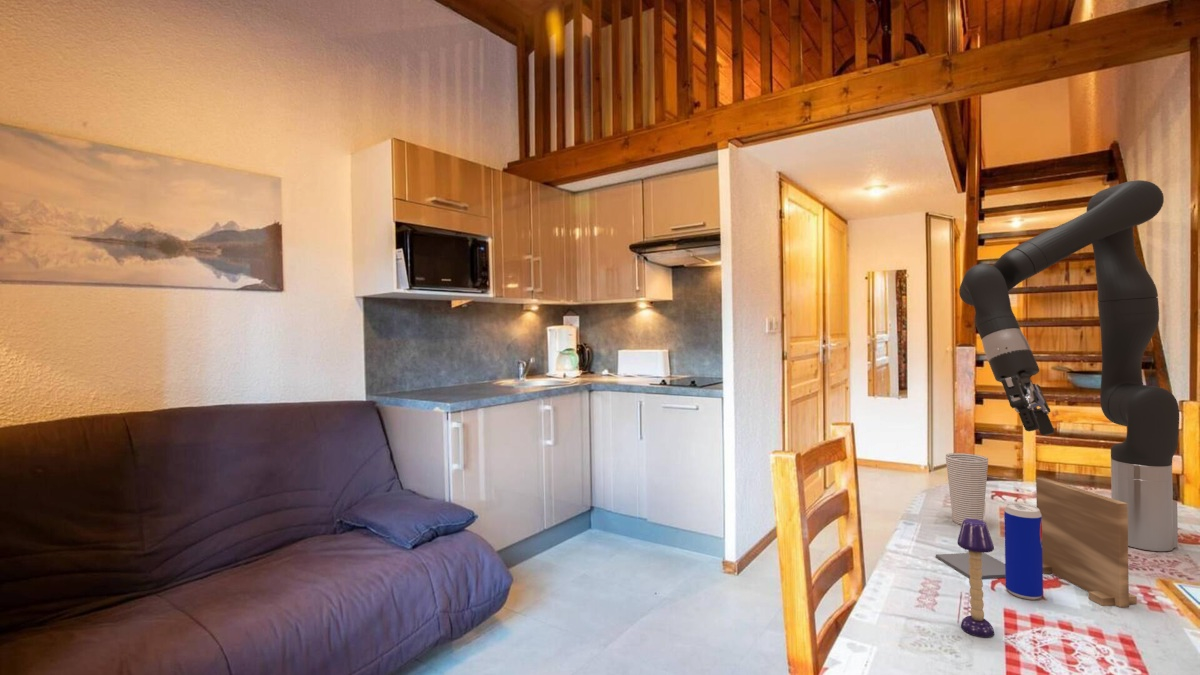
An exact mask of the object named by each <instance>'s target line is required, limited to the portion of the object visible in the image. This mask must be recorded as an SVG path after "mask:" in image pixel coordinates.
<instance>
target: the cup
mask: <svg viewBox="0 0 1200 675" xmlns="http://www.w3.org/2000/svg"><path fill="white" fill-rule="evenodd" d="M945 464H946V470H947V480H948V489H949V497H950V508H951V515H952V516H951V517H952V522H954V523H956V524H958V525H961V526H962V523H963V521H964V520H965V519H977V520H981V521H984V516H985V504H986V495H987V494H986V493H987V492H986V491H987V490H986V489H987V481H988V480H987V478H988V470H989V469H988V468H989V458H988V457H986V456H983V455H980V454H979V455H978V454H972V453H964V452H962V453H961V452H959V453H958V452H954V453H952V452H951V453H947V454H945Z"/></svg>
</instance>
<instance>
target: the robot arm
mask: <svg viewBox="0 0 1200 675" xmlns="http://www.w3.org/2000/svg"><path fill="white" fill-rule="evenodd" d="M1164 198H1165V197H1164V193H1163V191H1162V189H1161V188H1160V187H1159V186H1158V185H1157V184H1155V183H1153V182H1151V181H1148V180H1129V181H1126V182H1122V183H1119V184H1116V185H1113V186H1110V187H1107V188H1104V189H1102V190H1100V191H1098V192H1096V193H1095V194H1093V195H1092V197H1091V198H1090V199H1089V200H1088V203H1087V206H1086V212H1084V213H1083V214H1081V215H1078V216H1076V217H1075V218H1072V219H1070V220H1069V221H1066V222H1064V223H1062V224H1060V225H1058V226H1056V227H1053V228H1050V229H1048V230H1045V231H1044V232H1042V233H1039V234H1038V235H1035V236H1033V237H1031V238H1030V239H1027V240H1026V241H1023V242H1022V243H1020V244H1018V245H1017V246H1014V247H1013V248H1012V249H1009V250H1008V251H1006V252H1005V253H1004V254H1002V255H1001V256H1000V257H999V258H998V259H997V260H996V261H995V263H993V265H991V264H987V263H979V264H975V265H973V266H971V267H970V268H968V270H967V271H966V272H965V274H964V276H963V279H962V280H961V283H960V286H959V288H958V289H959V291H958V293H959V297H960V299H961V300H962V301H963V302H964V303H965V304H967V305H969V306H973V307H974V308H973V309H974V323H975V327H976V330H977V332H978V335H979V337H980V340H981V343H982V348H983V351H984V353H985V356H986V359H987V361H988V364H989V367H990V369H991V371H992V374H993V377H994V379H995V381H996V382H998V383H1001V384H1002V387H1003V390H1004V392H1005V395H1006V397H1007V400H1008V403H1009V406H1010V407H1011V409H1014V410H1015V412H1016V413H1018V415H1019V416H1018V417H1019V418H1020V420H1021V422H1022V425H1023V428H1024V430H1025V431H1026V432H1033V431H1039V433H1040V435H1042V436H1049V435H1053V434H1055V429H1054V426H1053V424H1052V421H1051V419H1050V417H1049V413H1051V409H1050V407H1049V405H1048V403H1047V399H1046V397H1045V396H1044V393H1043V391H1042V389H1041V386H1040V385H1039V384H1038V383H1037V384H1036V383H1033V381H1032V380H1031V378H1032V376H1036V375H1037V374H1039V372H1040V368H1039V365H1038V362H1037V360H1036V358H1035V355H1034V353H1033V351H1032V349H1031V347H1030V344H1029V342H1028V339H1027V338H1026V336H1025V335H1024V333H1023V331H1022V330H1021V327H1020V324H1019V323H1018V320H1017V318H1016V316H1015V314H1014V312H1013V309H1012V304H1011V299H1010V295H1009V292H1010V291H1011V290H1013V288H1015V287H1016V286H1017V285H1018V284H1020V283H1022V282H1023V281H1025V280H1027V279H1029V278H1031V277H1033V276H1035V275H1038V273H1040V272H1042V271H1045V270H1046V269H1049V268H1050V267H1051V266H1053V265H1055V264H1057V263H1058V262H1060V261H1062V260H1064V259H1066V258H1068V257H1069V256H1071V255H1073V254H1075V253H1077V252H1079V251H1080V250H1082V249H1084V248H1086V247H1088V246H1090V245H1091V246H1092V249H1093V254H1094V255H1093V256H1094V266H1095V276H1096V279H1095V280H1096V286H1097V309H1098V319H1099V327H1100V344H1101V345H1100V346H1101V379H1100V393H1099V396H1100V399H1099V400H1100V408H1101V411H1102V413H1103V415H1104V416H1105V418H1106V419H1107V420H1108V421H1110V422H1111V423H1114V424H1116V425H1119V426H1124V427H1126V428H1127V429H1126V438H1125V440H1124V441H1123V442H1120V443H1115V444H1113V445H1111V447H1110V482H1111V484H1110V486H1111V491H1110V492H1111V495H1110V496H1111V497H1110V498H1111V499H1115V500H1118V501H1121V502H1124V503H1127V507H1128V547H1131V548H1135V549H1138V550H1139V549H1140V550H1145V551H1151V552H1153V551H1154V552H1170V551H1172V550H1174V548H1179V540H1178V538H1179V537H1178V534H1179V533H1178V531H1179V527H1178V501H1176V500H1174V499H1173V497H1174V495H1173V486H1174V485H1173V458H1174V455H1175V454H1176V452H1177V450H1178V446H1179V432H1180V407H1179V406H1180V405H1179V403H1178V401H1177V398H1176V397H1175V395H1174V394H1173V392H1170V391H1169V390H1168V389H1165V388H1163V387H1160V386H1155V385H1145V384H1144V380H1143V371H1142V370H1143V369H1142V363H1143V356H1144V355H1145V351H1146V349H1147V348H1148V345H1149V344H1150V342H1151V340H1152V338H1153V336H1155V335H1154V334H1155V333H1156V330H1157V329H1158V325H1159V322H1160V307H1159V295H1158V289H1157V286H1156V284H1155V282H1154V280H1153V278H1152V277H1151V275H1150V274H1149V272H1148V271H1147V269H1146V268H1145V266H1144V265H1143V263H1142V262H1141V260H1140V258H1139V257H1138V254H1137V252H1136V248H1135V241H1134V239H1135V238H1134V227H1136V226H1139V225H1142V224H1144V223H1147V222H1149V221H1151V220H1152V219H1153V218H1154V217H1156V216H1157V215H1158V214H1159V212H1160V211H1161V209H1162V207H1163V204H1164Z"/></svg>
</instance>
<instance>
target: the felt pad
mask: <svg viewBox="0 0 1200 675" xmlns="http://www.w3.org/2000/svg"><path fill="white" fill-rule="evenodd" d="M935 558H936V559H937V560H939V561H941V562H942V563H944V564H946V565H947V566H949V567H950V568H952V569H954V570H955V571H956V572H958V573H960V574H962V575H963V576H965V577H966V578H968V579H970V575H969V568H970V566H969V558H970V556H969V553H968V552H963V553H962V552H959V553H940V554H939V553H938V554H935ZM981 561H982V567H981V570H982V578H981V579H982V580H988V579H1005V562H1002V561H1000V560H999V559H997V558H995V557H993V556H992V555H990V554H988V553H987V552H985V553H984V552H982V557H981Z"/></svg>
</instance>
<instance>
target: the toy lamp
mask: <svg viewBox="0 0 1200 675" xmlns="http://www.w3.org/2000/svg"><path fill="white" fill-rule="evenodd" d="M959 530H960V531H959V534H958V537H957V545H958V546H959V548H962V549H964V550H967V551H968V552H967V553H969V556H970V558H969V566H970V568H969V575H970V578H968V580H969V581H968V583H969V584H968V585H969V586H970V588H969V596H970V599H969V600H970V601H969V603H970V607H971V608H970V615H968V616H965V617H964V618H963V619H962V620H961V622H960V628H961V629H962V630H963V631H964V632H965V633H967V634H969V635H973V636H976V637H982V638H991V637H993V636H994V635H995V630H994V628H993V625H992V624H991V622H990V621H988V620H987V619H986V618H985V613H984V610H983V609H984V606H985V605H984V600H983V598H984V592H983V591H984V590H983V586H984V584H983V579H981V578H982V570H981V567H982V561H981V557H982V552H984V553H991V552H993V551H994V550H995V546H994V542H993V540H992V536H991V534H990V530H989V526H988V525H987V523H986V522H985V521H984V520H983V521H981V520H977V519H965V520H964V521H963V523H962V525H961V527H960V529H959Z"/></svg>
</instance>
